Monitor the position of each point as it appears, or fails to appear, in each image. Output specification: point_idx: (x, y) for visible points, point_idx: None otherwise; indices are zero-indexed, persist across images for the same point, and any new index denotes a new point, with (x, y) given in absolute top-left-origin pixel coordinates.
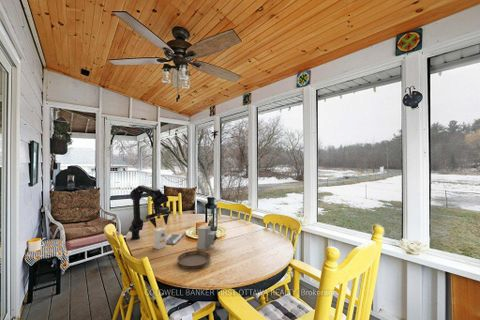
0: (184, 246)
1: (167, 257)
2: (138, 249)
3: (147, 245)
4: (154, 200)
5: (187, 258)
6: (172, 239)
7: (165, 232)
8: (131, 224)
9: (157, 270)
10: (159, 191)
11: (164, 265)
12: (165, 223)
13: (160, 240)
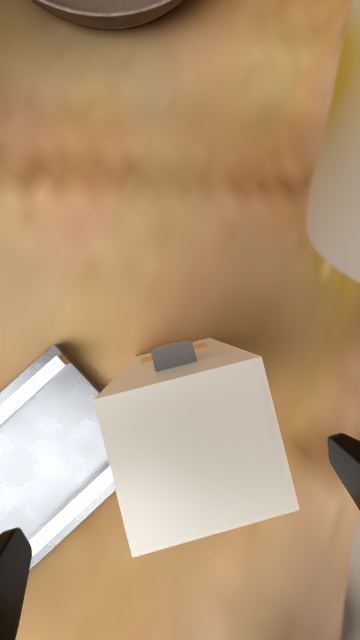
0: (11, 250)
1: (219, 141)
2: None
3: None
4: None
5: (119, 4)
6: (20, 460)
7: (122, 380)
8: None
9: (349, 3)
10: None
11: (288, 36)
12: (16, 591)
13: (199, 348)
